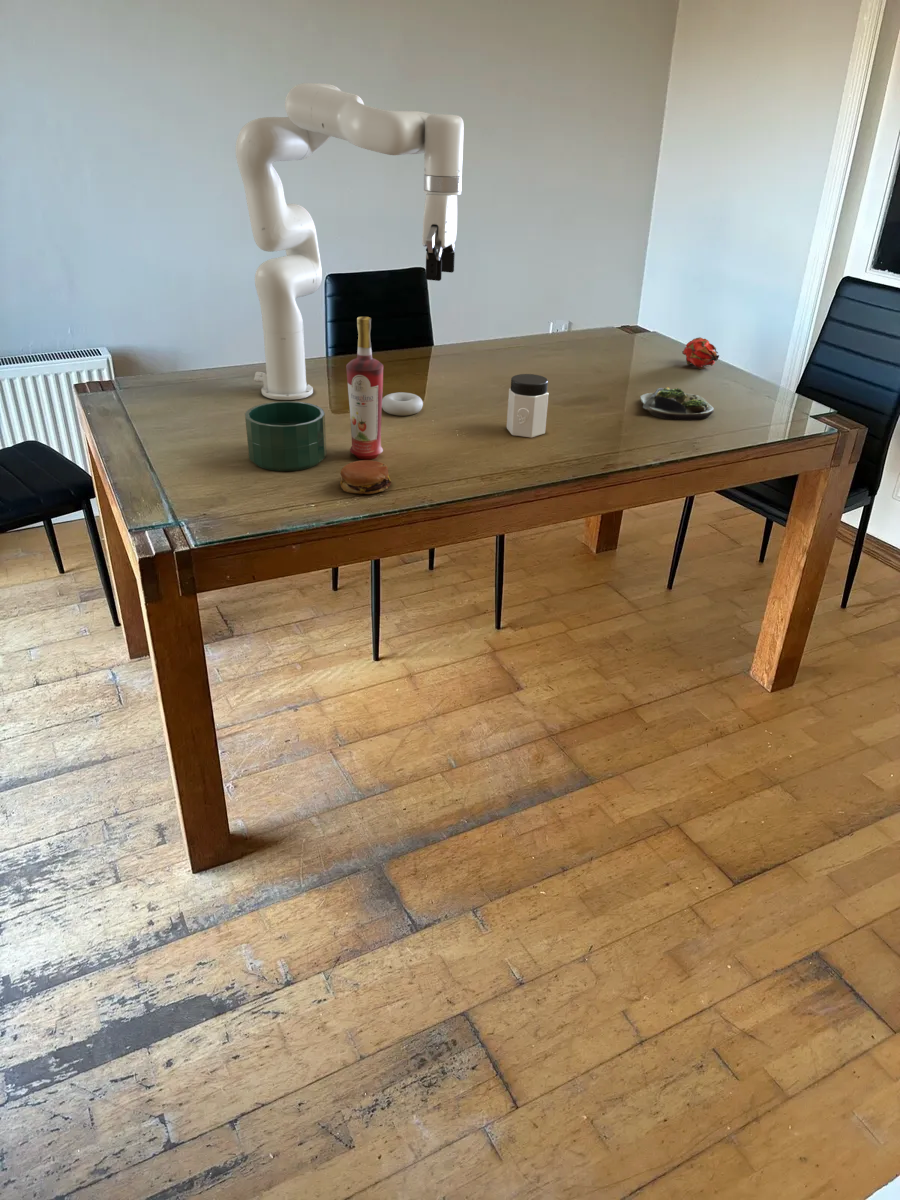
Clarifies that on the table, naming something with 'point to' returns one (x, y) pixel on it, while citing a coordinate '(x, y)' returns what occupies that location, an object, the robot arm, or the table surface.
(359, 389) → the liquor
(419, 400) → the donut
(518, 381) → the jar
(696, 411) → the salad plate
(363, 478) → the burger
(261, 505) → the table surface
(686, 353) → the dragon fruit
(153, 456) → the table surface
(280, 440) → the ice bucket
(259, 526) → the table surface
